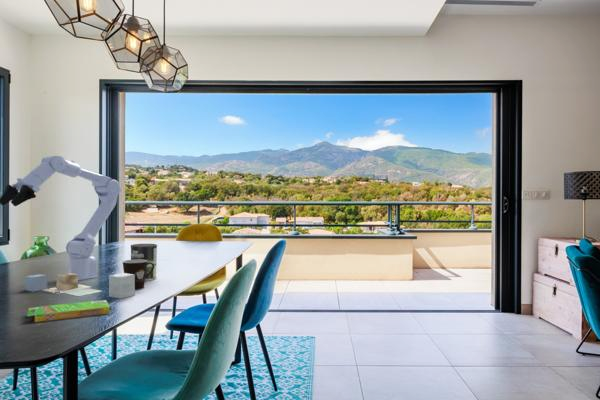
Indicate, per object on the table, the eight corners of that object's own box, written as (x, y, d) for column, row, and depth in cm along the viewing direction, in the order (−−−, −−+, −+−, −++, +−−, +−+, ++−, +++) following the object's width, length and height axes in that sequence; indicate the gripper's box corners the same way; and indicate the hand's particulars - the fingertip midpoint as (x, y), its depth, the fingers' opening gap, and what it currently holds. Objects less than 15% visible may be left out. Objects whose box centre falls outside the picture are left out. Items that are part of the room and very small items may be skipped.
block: (69, 286, 158) (69, 272, 158) (77, 287, 155) (77, 274, 155) (56, 288, 153) (56, 275, 153) (64, 290, 151) (64, 276, 151)
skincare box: (135, 295, 145) (135, 274, 145) (119, 299, 140) (119, 277, 140) (123, 293, 148) (123, 272, 148) (108, 296, 143) (108, 275, 143)
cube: (39, 287, 155) (39, 274, 155) (47, 289, 153) (47, 275, 153) (25, 290, 151) (24, 276, 151) (33, 291, 148) (32, 277, 148)
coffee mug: (123, 291, 151) (123, 263, 151) (121, 286, 159) (121, 260, 159) (157, 288, 156) (157, 261, 156) (153, 284, 164) (153, 258, 164)
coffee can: (144, 282, 167) (144, 246, 167) (124, 280, 171) (125, 245, 171) (162, 277, 177) (162, 244, 177) (142, 275, 181) (143, 243, 181)
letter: (76, 284, 162) (76, 283, 162) (92, 287, 157) (92, 286, 157) (41, 290, 151) (41, 289, 151) (57, 293, 146) (57, 293, 146)
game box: (109, 317, 123) (26, 323, 113) (106, 309, 131) (28, 314, 121) (109, 306, 123) (26, 312, 113) (106, 299, 131) (29, 304, 121)
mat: (87, 288, 155) (87, 288, 155) (102, 291, 150) (102, 291, 150) (63, 293, 147) (63, 292, 147) (78, 296, 142) (78, 296, 142)
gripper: (16, 170, 158) (-14, 194, 149) (40, 170, 151) (10, 196, 142) (29, 184, 162) (1, 208, 153) (53, 185, 156) (25, 211, 147)
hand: (6, 203), depth 148 cm, fingers open, 7 cm apart
